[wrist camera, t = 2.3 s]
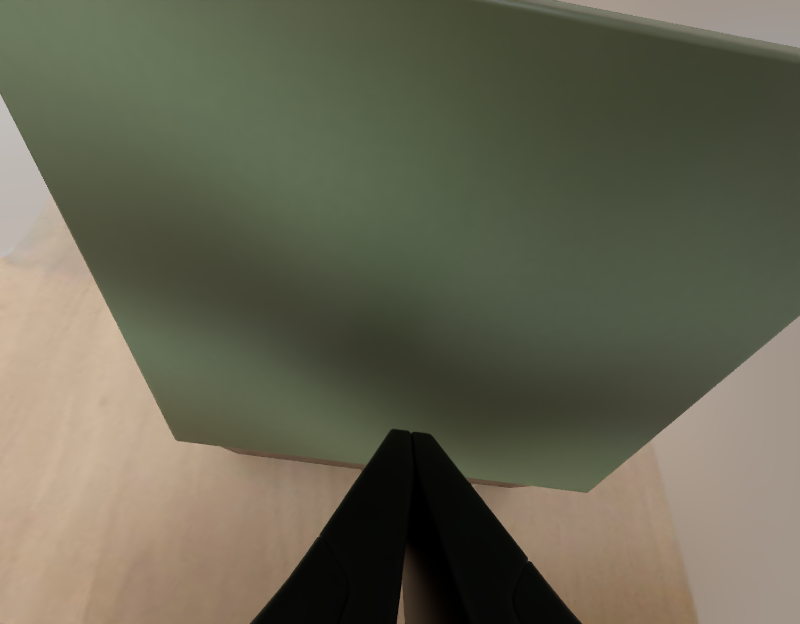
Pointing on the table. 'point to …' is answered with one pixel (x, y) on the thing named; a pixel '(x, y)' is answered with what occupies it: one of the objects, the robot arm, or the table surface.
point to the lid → (419, 216)
